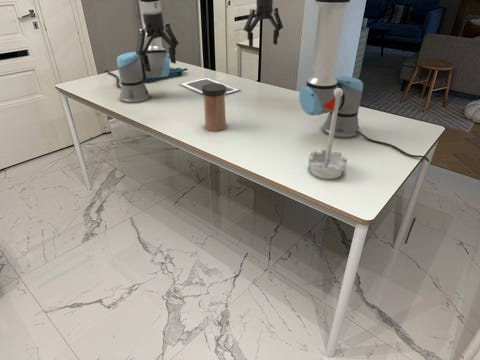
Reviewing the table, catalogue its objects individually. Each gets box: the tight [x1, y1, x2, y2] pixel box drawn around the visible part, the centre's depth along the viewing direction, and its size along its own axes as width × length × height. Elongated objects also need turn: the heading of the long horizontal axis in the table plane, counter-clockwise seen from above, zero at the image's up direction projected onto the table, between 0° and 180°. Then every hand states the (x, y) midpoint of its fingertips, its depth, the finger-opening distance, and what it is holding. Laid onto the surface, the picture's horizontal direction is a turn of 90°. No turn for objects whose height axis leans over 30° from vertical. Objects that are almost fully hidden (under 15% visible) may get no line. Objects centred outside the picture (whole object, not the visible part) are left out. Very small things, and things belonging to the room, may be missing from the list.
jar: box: [203, 94, 227, 132], centre depth 149 cm, size 9×9×18 cm
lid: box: [202, 83, 226, 96], centre depth 144 cm, size 10×10×2 cm
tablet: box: [179, 77, 241, 96], centre depth 200 cm, size 32×20×1 cm, turn 41°
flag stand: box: [307, 88, 348, 180], centre depth 113 cm, size 13×13×30 cm
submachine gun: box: [143, 66, 188, 83], centre depth 221 cm, size 34×4×25 cm
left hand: (161, 66), depth 146 cm, fingers open, 13 cm apart
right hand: (263, 45), depth 167 cm, fingers open, 13 cm apart
